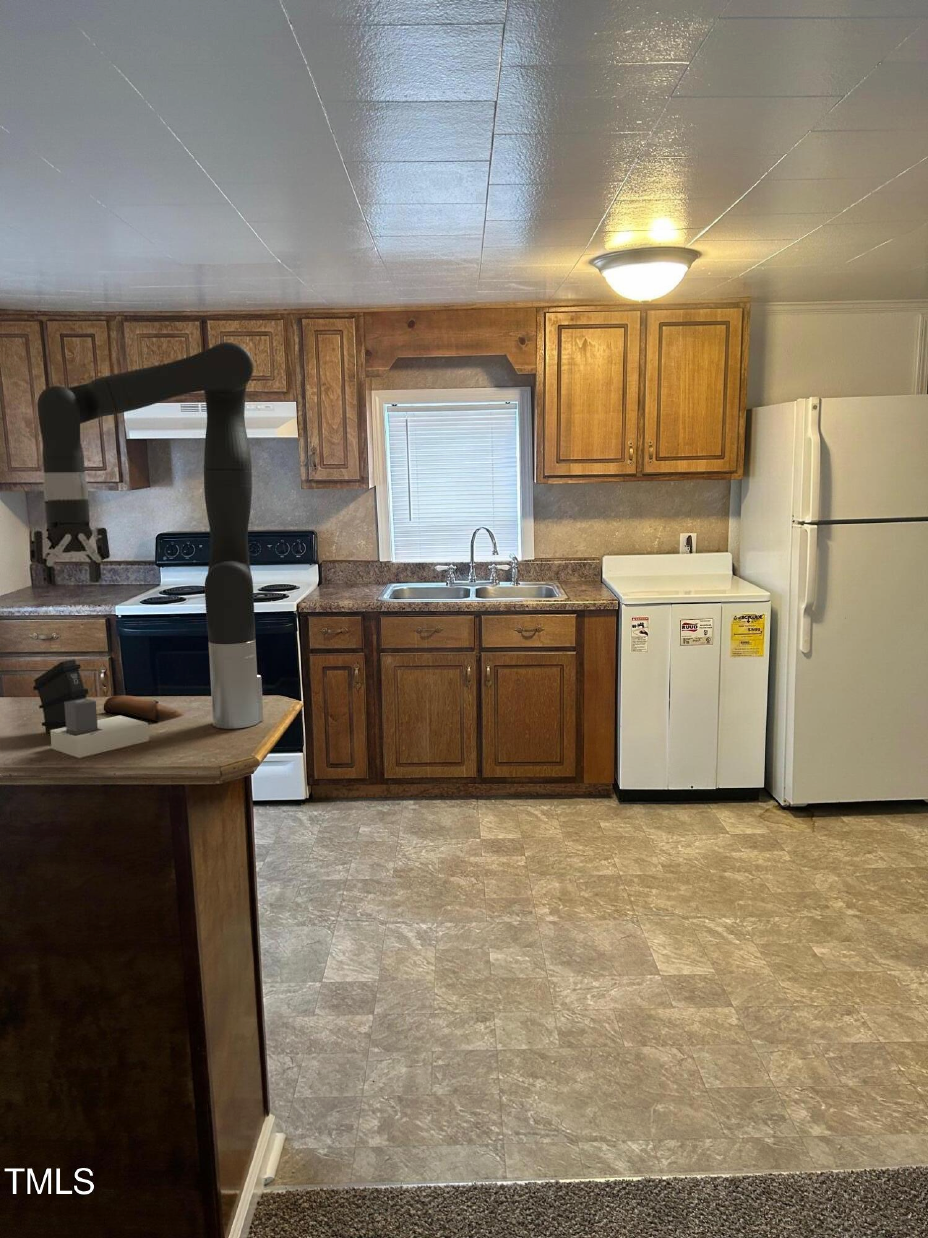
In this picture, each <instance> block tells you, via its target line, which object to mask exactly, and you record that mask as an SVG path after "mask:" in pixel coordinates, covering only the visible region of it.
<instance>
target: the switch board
mask: <svg viewBox="0 0 928 1238" xmlns="http://www.w3.org/2000/svg"><path fill="white" fill-rule="evenodd" d="M97 725H98V731H95V732H91V733H86V734H82V735H77V736H74V735H70V734H67V731H66V727H64V728H59V729H54V730H50V733H51V734H50V743H51V749H52V750H54V751H58V752H59V753H60V752H61V753H63V754H66V755H69V756H72V757H75V758H78V759H79V758H80V759H81V758H83V757H88V756H93V755H97V754H100V753H105V752H108V751H112V750H117V749H120V748H124V747H125V748H126V747H129V746H134V745H137V744H141V743H146V742H149V741H150V736H149V732H150V731H149V723H148V722H145V721H142V720H138V719H135V718H131V717H127V716H124V715H121V714H120V715H116V716H115V715H114V716H110V717H107V718H106V717H105V718H102V719H97Z"/></svg>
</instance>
